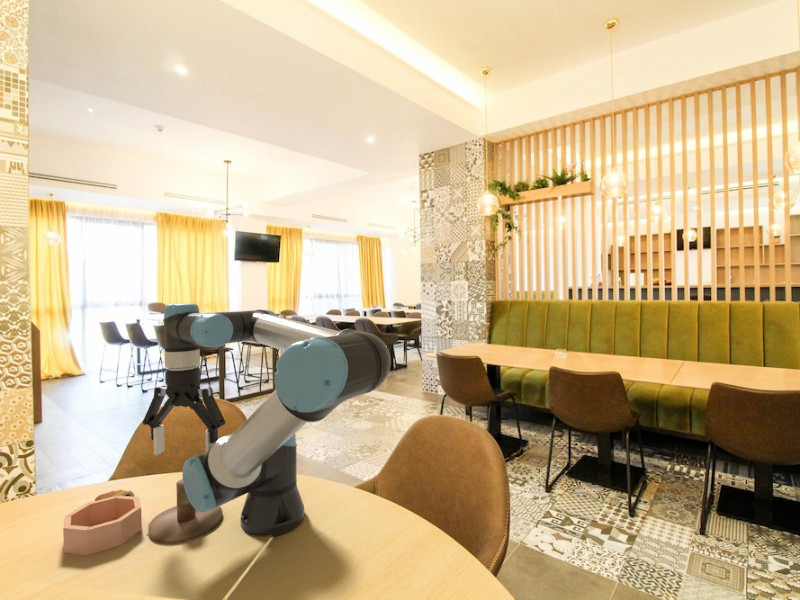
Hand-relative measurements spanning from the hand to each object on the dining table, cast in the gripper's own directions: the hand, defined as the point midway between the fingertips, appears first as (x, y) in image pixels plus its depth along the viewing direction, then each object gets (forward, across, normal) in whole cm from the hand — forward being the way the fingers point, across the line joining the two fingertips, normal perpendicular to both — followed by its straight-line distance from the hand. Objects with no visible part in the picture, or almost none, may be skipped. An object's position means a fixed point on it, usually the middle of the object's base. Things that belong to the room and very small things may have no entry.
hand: (184, 454), depth 102 cm
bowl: (+17, +16, +7) cm, 25 cm away
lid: (+17, 0, 0) cm, 17 cm away
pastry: (+18, +26, -6) cm, 32 cm away
